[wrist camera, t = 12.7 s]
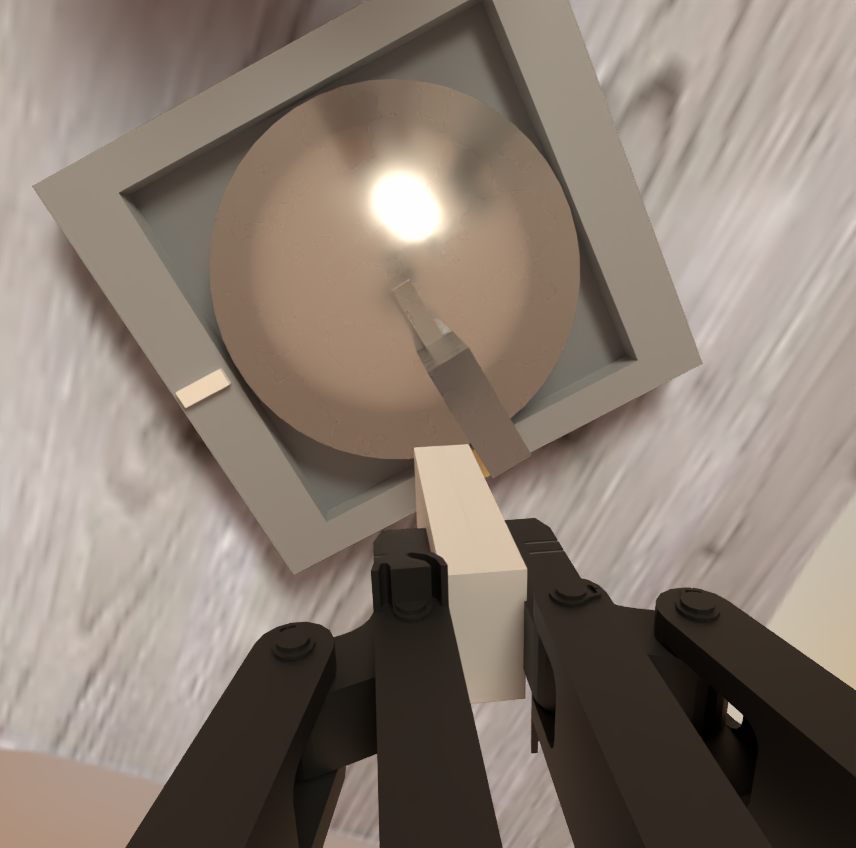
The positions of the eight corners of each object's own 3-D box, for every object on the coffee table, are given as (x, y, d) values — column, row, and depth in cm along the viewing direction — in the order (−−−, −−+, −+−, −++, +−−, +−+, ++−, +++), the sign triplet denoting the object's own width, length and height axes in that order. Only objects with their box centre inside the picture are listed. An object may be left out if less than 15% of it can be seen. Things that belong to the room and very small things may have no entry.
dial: (145, 218, 24) (79, 213, 18) (459, 14, 23) (492, -57, 18) (346, 500, 28) (343, 567, 23) (618, 336, 27) (687, 363, 22)
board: (515, -58, 24) (536, -97, 21) (672, 352, 30) (706, 365, 27) (65, 191, 25) (28, 185, 22) (298, 546, 30) (292, 578, 28)
